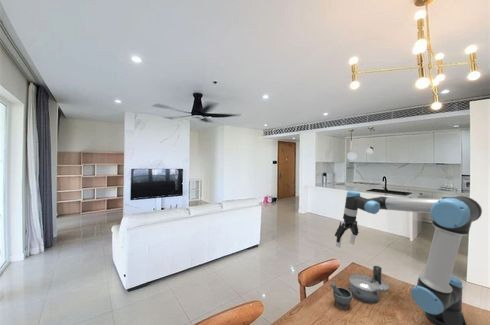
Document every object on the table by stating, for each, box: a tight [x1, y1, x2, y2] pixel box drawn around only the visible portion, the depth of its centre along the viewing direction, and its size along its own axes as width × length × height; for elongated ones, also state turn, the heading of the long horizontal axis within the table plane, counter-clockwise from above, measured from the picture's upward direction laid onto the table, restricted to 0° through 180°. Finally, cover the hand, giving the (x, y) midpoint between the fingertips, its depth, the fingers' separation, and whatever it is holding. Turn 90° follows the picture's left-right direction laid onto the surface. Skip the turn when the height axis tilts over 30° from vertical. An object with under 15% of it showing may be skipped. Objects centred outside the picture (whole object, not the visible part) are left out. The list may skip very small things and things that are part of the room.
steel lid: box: [370, 265, 390, 292], centre depth 133 cm, size 12×12×12 cm
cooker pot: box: [348, 273, 380, 304], centre depth 124 cm, size 16×16×8 cm
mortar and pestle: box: [330, 282, 353, 310], centre depth 116 cm, size 11×9×12 cm
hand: (345, 245), depth 138 cm, fingers open, 13 cm apart
